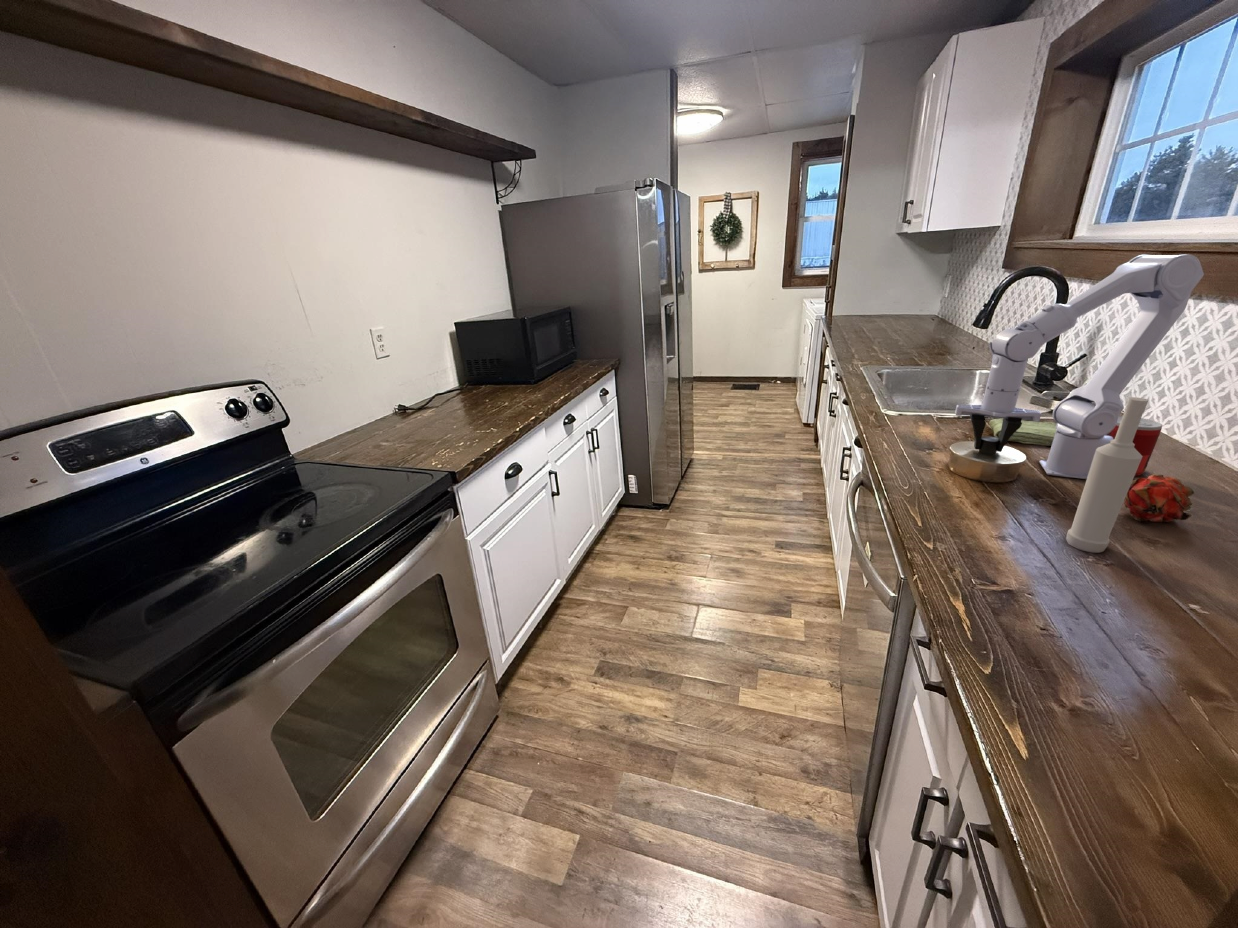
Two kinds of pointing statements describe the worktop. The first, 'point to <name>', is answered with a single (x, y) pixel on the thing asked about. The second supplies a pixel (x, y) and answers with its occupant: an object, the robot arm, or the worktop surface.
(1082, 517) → the bottle
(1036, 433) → the washcloth
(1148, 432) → the canned food
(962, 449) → the lid
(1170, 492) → the dragon fruit
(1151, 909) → the worktop surface
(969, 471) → the pot
